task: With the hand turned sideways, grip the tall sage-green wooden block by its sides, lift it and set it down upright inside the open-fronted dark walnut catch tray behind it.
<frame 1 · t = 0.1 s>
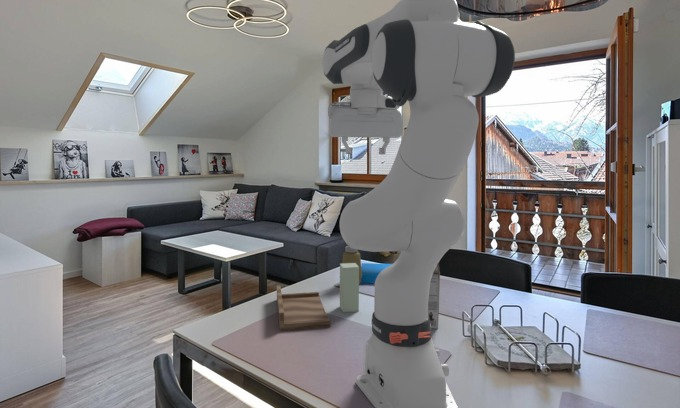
hand: (365, 154, 110), 48 cm above the table, tool pointing down, fingers open, 8 cm apart
catch tray: (301, 312, 123), on the table
coffee box: (426, 322, 116), on the table
book: (392, 279, 160), on the table
squeeze bottle: (351, 285, 150), on the table
sage block: (349, 308, 126), on the table
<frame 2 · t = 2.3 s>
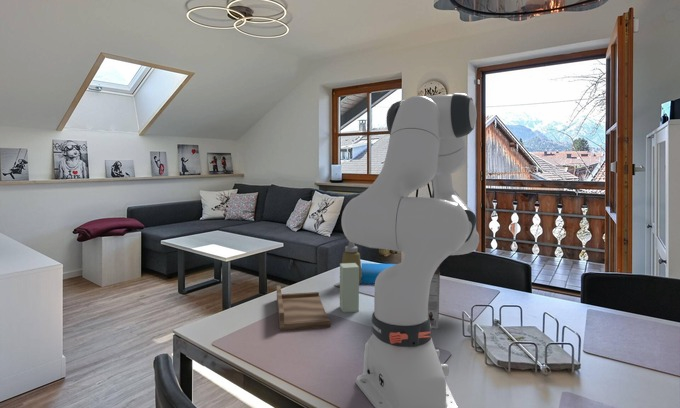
hand: (386, 244, 126), 20 cm above the table, tool horizontal, fingers open, 8 cm apart
nothing on the table moved.
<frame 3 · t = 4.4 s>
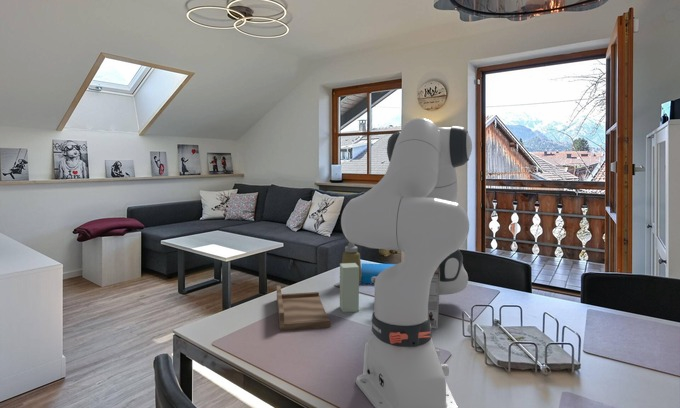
hand: (375, 284, 126), 7 cm above the table, tool horizontal, fingers open, 8 cm apart
nothing on the table moved.
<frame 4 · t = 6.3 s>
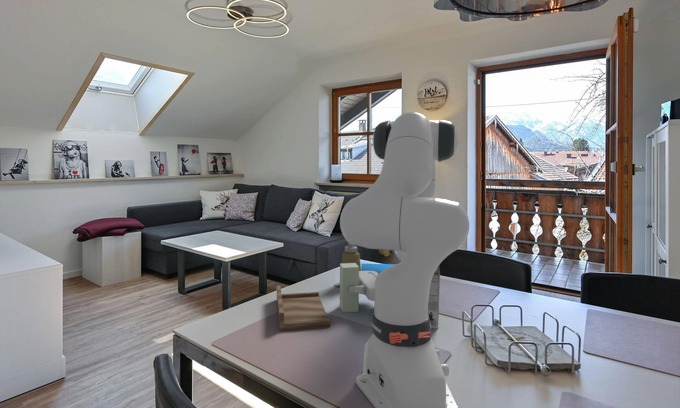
hand: (346, 285, 125), 8 cm above the table, tool horizontal, fingers closed on sage block, 5 cm apart
sage block: (349, 308, 126), on the table, touching gripper
everything else where it was.
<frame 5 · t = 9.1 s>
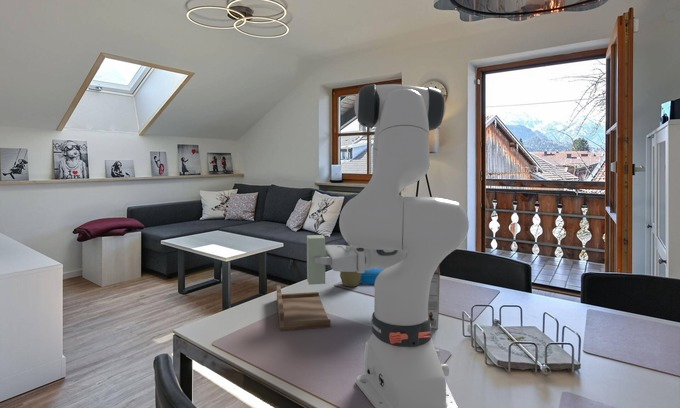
hand: (312, 257, 122), 17 cm above the table, tool horizontal, fingers closed on sage block, 5 cm apart
sage block: (316, 281, 123), point 9 cm above the table, touching gripper
everything else where it was.
when the fingers open (9 cm above the table, at t = 11.7 s): sage block drops 1 cm, resting on catch tray.
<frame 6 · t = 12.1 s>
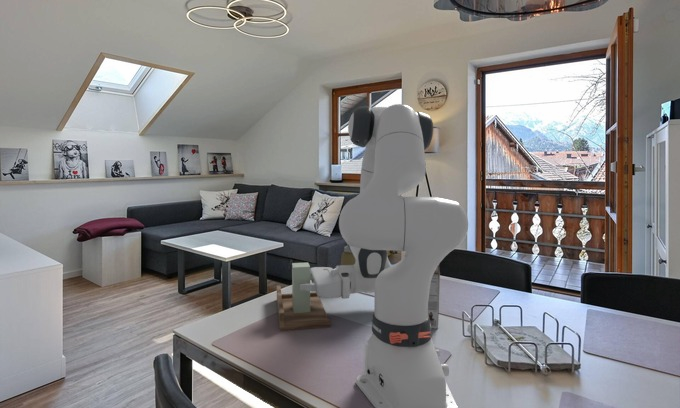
hand: (298, 282, 122), 9 cm above the table, tool horizontal, fingers open, 8 cm apart
sage block: (301, 309, 123), point 1 cm above the table, touching catch tray
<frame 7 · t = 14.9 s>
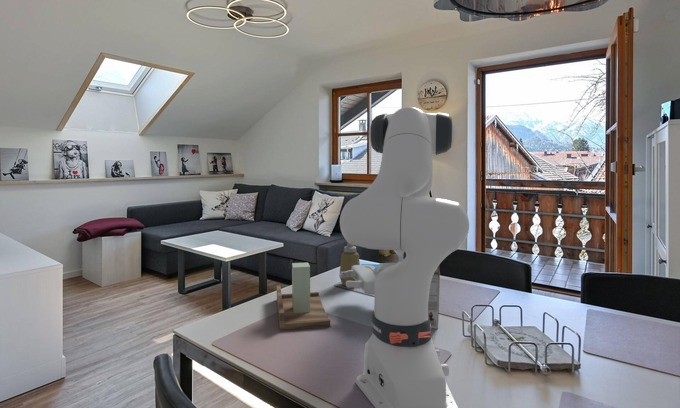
hand: (343, 279, 124), 10 cm above the table, tool horizontal, fingers open, 8 cm apart
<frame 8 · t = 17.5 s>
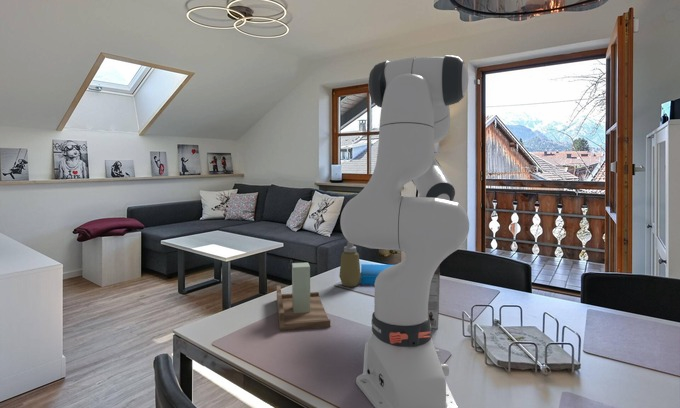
hand: (360, 214, 121), 30 cm above the table, tool horizontal, fingers open, 8 cm apart
at the end: sage block inside the target area on the catch tray (0.0 cm from its centre), point 0.8 cm above the catch tray's base; sage block tilted 0°; the gripper is holding nothing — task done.
